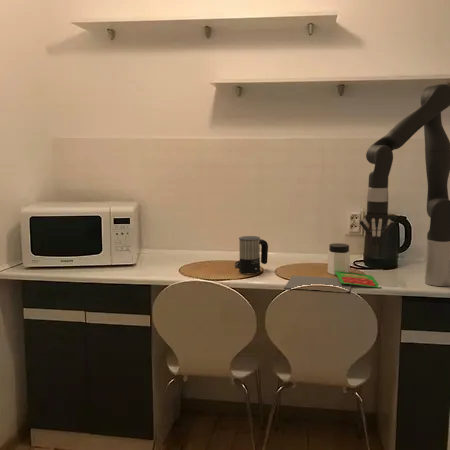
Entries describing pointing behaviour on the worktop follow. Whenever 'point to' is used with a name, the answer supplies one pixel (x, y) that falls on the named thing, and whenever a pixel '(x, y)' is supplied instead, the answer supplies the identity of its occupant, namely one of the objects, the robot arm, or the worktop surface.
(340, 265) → the jar
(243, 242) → the milk frother
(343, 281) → the tomato puree packet
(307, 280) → the mat
